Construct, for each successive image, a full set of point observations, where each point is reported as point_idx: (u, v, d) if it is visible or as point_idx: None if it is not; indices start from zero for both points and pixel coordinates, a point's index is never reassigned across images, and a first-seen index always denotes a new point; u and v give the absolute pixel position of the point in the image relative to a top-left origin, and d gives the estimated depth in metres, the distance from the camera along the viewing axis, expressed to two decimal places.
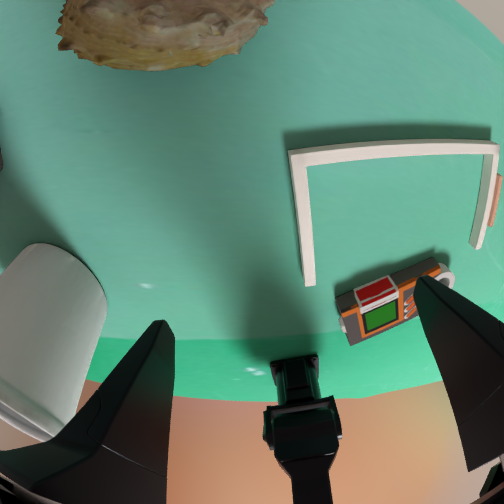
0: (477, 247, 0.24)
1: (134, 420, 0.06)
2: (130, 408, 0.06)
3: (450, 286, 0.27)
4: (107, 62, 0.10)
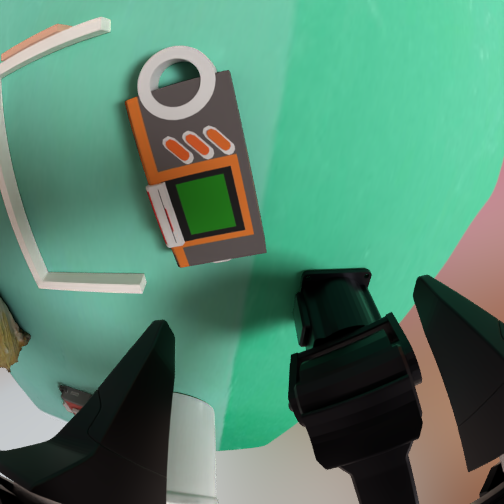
0: (96, 27, 0.11)
1: (134, 420, 0.06)
2: (130, 408, 0.06)
3: (180, 53, 0.12)
4: (8, 364, 0.22)
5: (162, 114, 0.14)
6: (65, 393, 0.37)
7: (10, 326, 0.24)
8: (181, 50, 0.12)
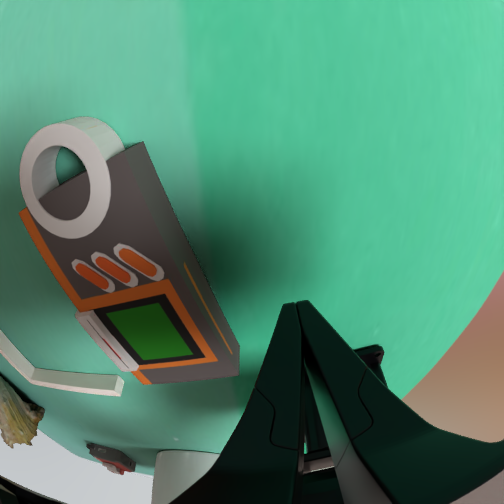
0: None
1: (302, 414, 0.06)
2: (302, 401, 0.06)
3: (54, 136, 0.07)
4: (26, 442, 0.20)
5: (59, 231, 0.09)
6: (93, 450, 0.35)
7: (20, 409, 0.21)
8: (54, 131, 0.07)
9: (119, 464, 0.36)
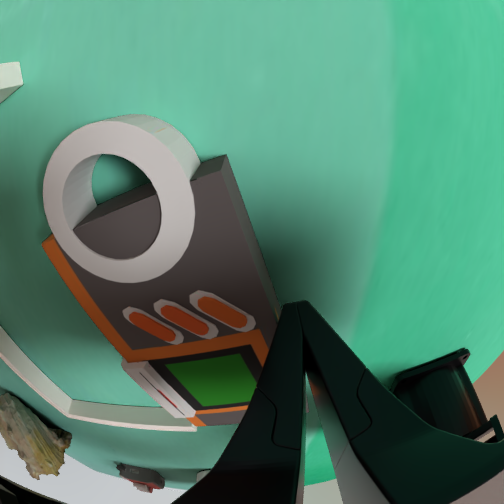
0: None
1: (304, 414, 0.06)
2: (304, 400, 0.06)
3: (101, 140, 0.06)
4: (55, 473, 0.18)
5: (106, 273, 0.08)
6: (124, 472, 0.32)
7: (47, 439, 0.19)
8: (102, 133, 0.06)
9: (152, 484, 0.33)
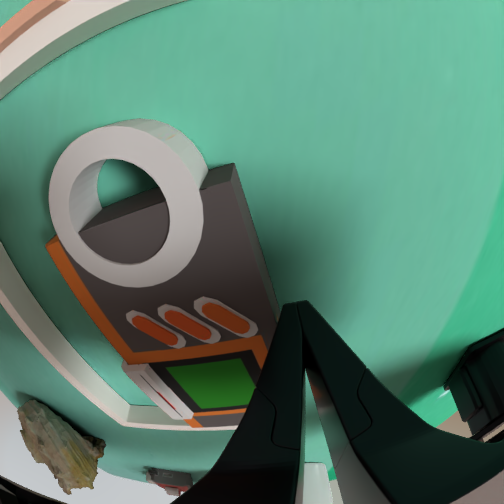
0: None
1: (303, 414, 0.06)
2: (303, 400, 0.06)
3: (111, 145, 0.06)
4: (91, 486, 0.17)
5: (111, 277, 0.08)
6: (156, 476, 0.31)
7: (83, 450, 0.19)
8: (112, 138, 0.06)
9: (185, 487, 0.33)
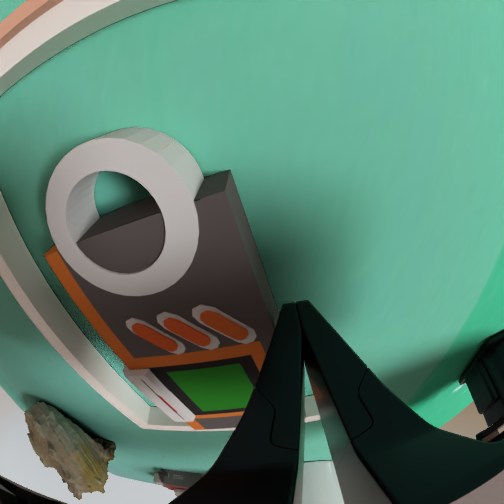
0: None
1: (302, 414, 0.06)
2: (302, 401, 0.06)
3: (105, 157, 0.06)
4: (102, 490, 0.17)
5: (110, 286, 0.08)
6: (166, 478, 0.31)
7: (94, 453, 0.18)
8: (106, 150, 0.06)
9: None
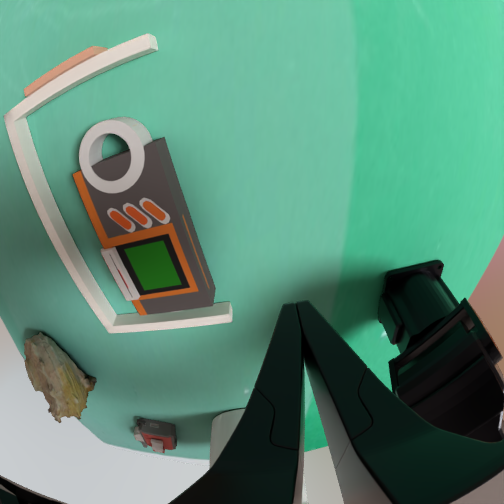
0: (145, 46, 0.11)
1: (302, 414, 0.06)
2: (302, 401, 0.06)
3: (110, 127, 0.14)
4: (79, 413, 0.25)
5: (103, 188, 0.16)
6: (144, 426, 0.39)
7: (75, 375, 0.26)
8: (111, 124, 0.14)
9: (170, 440, 0.41)
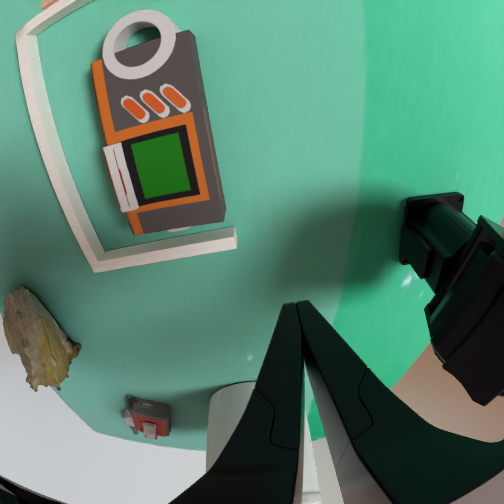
0: None
1: (302, 414, 0.06)
2: (302, 401, 0.06)
3: (144, 16, 0.11)
4: (57, 379, 0.22)
5: (122, 74, 0.13)
6: (135, 406, 0.36)
7: (56, 334, 0.23)
8: (145, 13, 0.11)
9: (164, 423, 0.38)
